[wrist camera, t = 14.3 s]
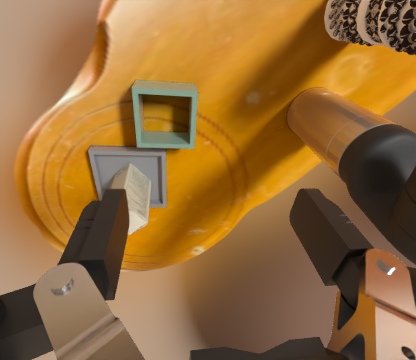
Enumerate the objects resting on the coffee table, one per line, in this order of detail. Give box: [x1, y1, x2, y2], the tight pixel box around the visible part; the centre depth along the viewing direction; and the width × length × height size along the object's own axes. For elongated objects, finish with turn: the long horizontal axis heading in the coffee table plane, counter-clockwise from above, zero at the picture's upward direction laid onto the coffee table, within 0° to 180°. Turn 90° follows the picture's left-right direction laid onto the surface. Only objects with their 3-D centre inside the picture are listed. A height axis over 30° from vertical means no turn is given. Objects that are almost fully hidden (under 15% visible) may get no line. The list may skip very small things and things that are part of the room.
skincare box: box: [111, 163, 151, 235], centre depth 43 cm, size 6×4×12 cm
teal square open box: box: [132, 80, 198, 149], centre depth 39 cm, size 10×10×5 cm
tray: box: [88, 145, 167, 207], centre depth 47 cm, size 14×14×2 cm
